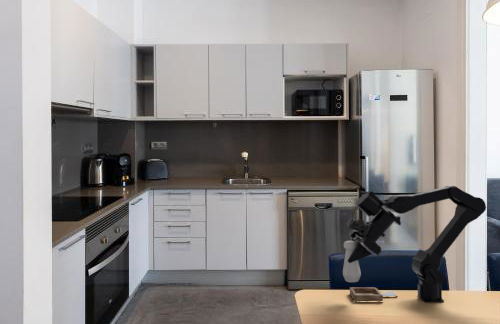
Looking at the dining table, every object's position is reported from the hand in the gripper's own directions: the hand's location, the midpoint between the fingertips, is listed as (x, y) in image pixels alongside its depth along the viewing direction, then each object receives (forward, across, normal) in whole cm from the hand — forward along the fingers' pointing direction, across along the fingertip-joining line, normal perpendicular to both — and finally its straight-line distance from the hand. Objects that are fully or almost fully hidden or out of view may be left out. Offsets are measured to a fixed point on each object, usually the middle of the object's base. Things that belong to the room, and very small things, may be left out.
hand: (347, 260), depth 140 cm
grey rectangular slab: (0, -5, +19) cm, 20 cm away
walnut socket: (+5, -3, +14) cm, 15 cm away
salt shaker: (+4, 0, +6) cm, 7 cm away
